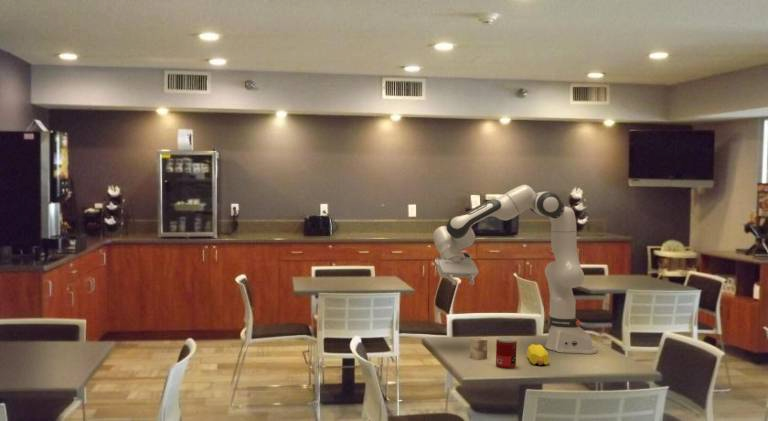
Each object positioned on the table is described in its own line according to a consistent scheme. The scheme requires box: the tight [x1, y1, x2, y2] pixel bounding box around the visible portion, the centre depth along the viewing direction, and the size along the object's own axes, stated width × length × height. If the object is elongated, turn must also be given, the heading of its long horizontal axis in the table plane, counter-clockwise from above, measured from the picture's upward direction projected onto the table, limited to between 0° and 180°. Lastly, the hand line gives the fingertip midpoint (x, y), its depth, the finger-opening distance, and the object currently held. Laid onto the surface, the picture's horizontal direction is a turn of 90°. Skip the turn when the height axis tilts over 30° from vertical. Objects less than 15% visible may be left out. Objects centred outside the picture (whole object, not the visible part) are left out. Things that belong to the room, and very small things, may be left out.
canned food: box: [495, 336, 518, 369], centre depth 302 cm, size 8×8×11 cm
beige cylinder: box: [469, 337, 488, 361], centre depth 315 cm, size 5×5×8 cm
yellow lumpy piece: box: [526, 343, 550, 366], centre depth 312 cm, size 18×7×8 cm
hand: (463, 284), depth 325 cm, fingers open, 8 cm apart
